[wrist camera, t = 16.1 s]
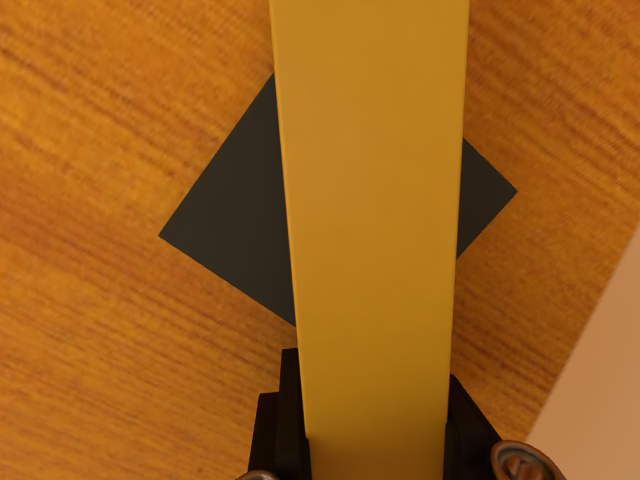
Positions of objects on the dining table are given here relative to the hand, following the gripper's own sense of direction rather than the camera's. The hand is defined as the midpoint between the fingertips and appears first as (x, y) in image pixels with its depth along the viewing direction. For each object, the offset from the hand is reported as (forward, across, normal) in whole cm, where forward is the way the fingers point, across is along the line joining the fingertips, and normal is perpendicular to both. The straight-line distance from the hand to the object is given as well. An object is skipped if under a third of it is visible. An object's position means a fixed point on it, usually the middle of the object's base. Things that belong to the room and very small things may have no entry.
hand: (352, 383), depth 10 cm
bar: (0, 0, -6) cm, 6 cm away
